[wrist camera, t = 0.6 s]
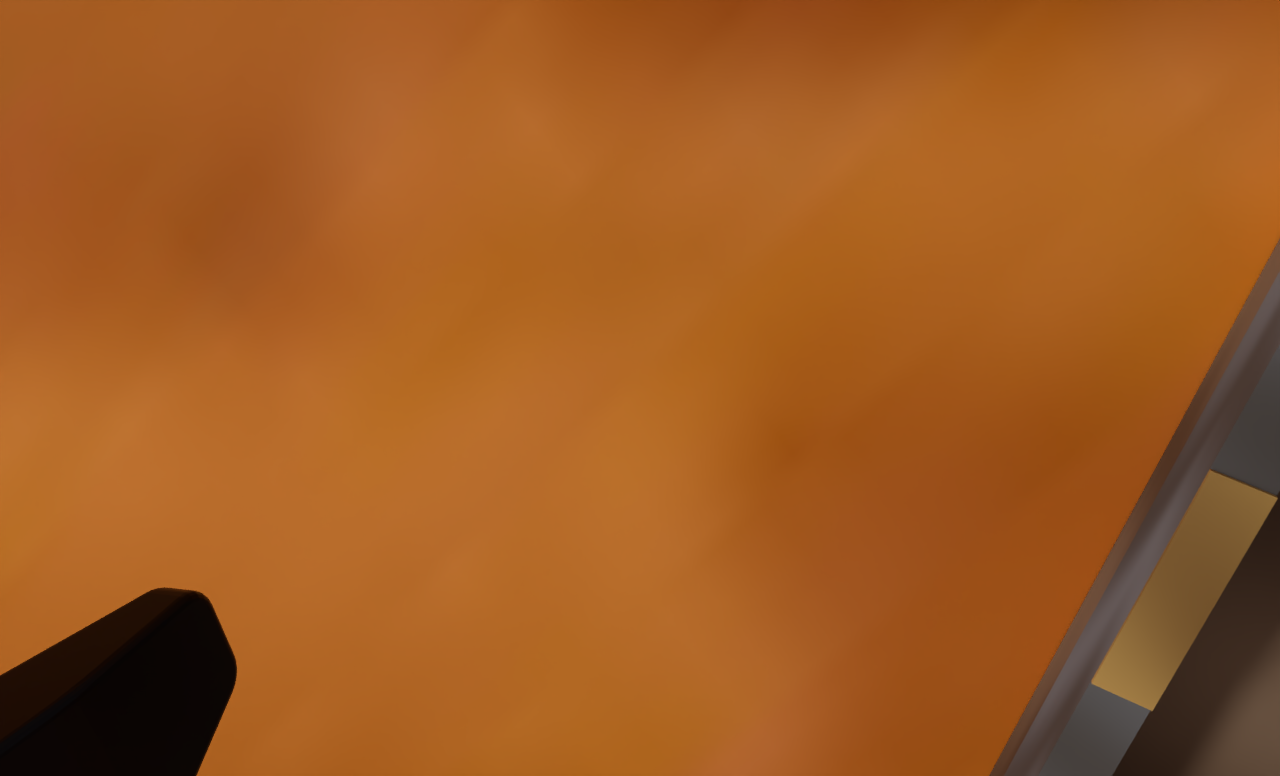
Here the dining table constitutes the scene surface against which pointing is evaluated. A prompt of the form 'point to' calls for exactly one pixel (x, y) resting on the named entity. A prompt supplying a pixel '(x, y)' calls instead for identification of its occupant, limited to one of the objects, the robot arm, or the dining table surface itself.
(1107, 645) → the press base
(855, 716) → the dining table surface
